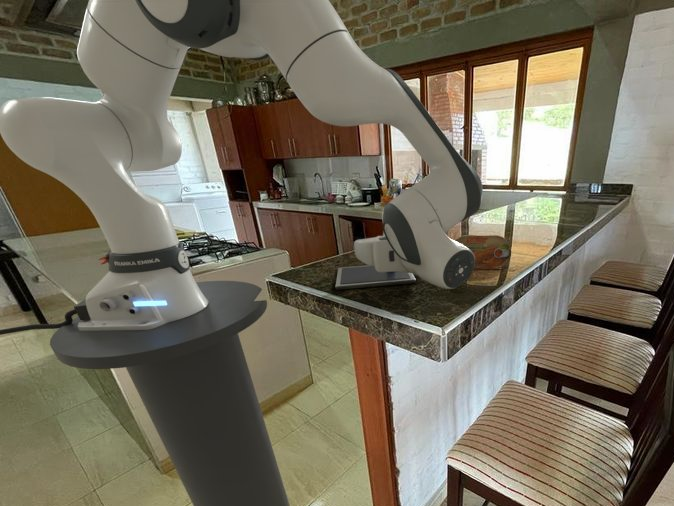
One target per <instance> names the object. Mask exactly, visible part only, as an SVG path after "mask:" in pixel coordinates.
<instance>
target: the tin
mask: <svg viewBox="0 0 674 506" xmlns="http://www.w3.org/2000/svg"><path fill="white" fill-rule="evenodd" d="M454 241H456V242H458V243H460V244H462V245H464V246H465V247H467V248H468V249H469V250H471V251H472V253H473V254H474V257H475V266H474V270H499V269H502V268H503V267H505V266H507V264H508V263H509V262H510V260H511V257H512V247H511V245H510V242H509V240H507V239H506V238H505V237H504V236H501V235H497V234H464V235H461V236H459V237H457V238H456V239H455V240H454Z"/></svg>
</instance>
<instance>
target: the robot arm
mask: <svg viewBox="0 0 674 506" xmlns="http://www.w3.org/2000/svg"><path fill="white" fill-rule="evenodd" d="M189 48H191V49H196V50H197V49H199V50H201V51H204V52H206V53H209V54H213V55H217V56H220V57H223V58H224V57H225V58H239V59H247V60H251V61H263V60H267V59H270V58H271V60H272V61H273V63H274V64H275V65H276V67H277V69H278V70H279V71H280V73H281V75H282V76H283V79H285V81H286V83H288V85H289V87H290V89H291V90H292V91H293V93H294V95H295V96H296V97H297V98H298V100H299V101H300V103H301V104H302V105H303V106H304V108H305V109H306V111H308V112H309V113H310V115H311V116H313V117H314V118H316V119H317V120H319V121H321V122H323V123H325V124H327V125H332V126H336V127H355V126H362V125H371V124H372V125H373V124H379V125H380V124H381V125H382V124H383V125H388V126H391V127H394V128H395V129H397V130H398V131H399V132H401V134H402V135H403V136H404V137H405V138H406V139H407V141H408V142H409V144H410V145H411V146H412V147H413V148H414V150H415V151H416V152H417V154H418V155H419V156H420V158H421V159H422V160H423V161H424V162H425V164H426V165H427V166H428V168H429V174H427V175H426V176H425V177H422V179H420V180H419V181H417V182H415V184H413V185H411V186H410V187H408V188H407V189H405V190H404V191H402V192H400V194H398V195H397V196H396V197H394V198H392V199H391V200H390V201H389V202H387V203H386V204H384V205H385V206H384V208H383V211H382V212H383V222H382V233H383V232H384V234H385V236H384V235H383V234H382V235H377V236H375V237H367V238H362V239H361V238H360V239H356V240H355V241H354V242H353V250H354V255H355V257H356V259H357V260H358V261H360V262H361V263H363V264H365V265H366V266H368V265H369V266H375V270H376V271H378V272H405V273H412V274H413V276H414V275H415V276H418V277H419V278H420V279H422V280H423V281H425V282H426V283H429V284H431V285H433V286H436V287H438V288H442V289H445V290H453V289H457V288H459V287H461V286H462V285H463V284H464V283H466V282H467V281H468V280H469V278H470V277H471V276H472V274H473V272H474V270H475V269H474V266H475V257H474V254H473V253H472V251H471V250H469V249H468V248H467V247H465V246H464V245H462V244H460V243H458V242H456V241H455V240H454V239H451V237H450V236H448V235H447V234H446V233H448V232H449V231H450V230H451V229H453V228H454V227H455V226H457V225H458V224H460V223H462V222H464V221H465V220H467V219H469V218H470V217H472V216H473V215H475V214H477V212H479V210H480V208H481V203H482V201H483V191H484V190H483V189H484V188H483V181H482V180H481V179H482V178H481V177H480V175H479V173H478V172H477V171H476V169H475V168H474V167H473V166H472V165H471V163H469V162H468V161H467V160H466V159H465V158H464V157H463V156H462V155H461V154H460V153H459V152H458V150H457V149H456V148H455V146H454V145H453V144H452V142H451V141H450V140H449V138H448V137H447V135H446V134H445V133H444V132H443V130H442V129H441V127H439V125H438V124H437V122H436V121H435V120H434V118H433V116H432V115H431V114H430V113H429V111H428V110H427V108H426V107H425V105H424V104H423V103H422V102H421V100H420V99H419V98H418V96H417V95H416V94H415V92H413V91H414V90H413V89H411V87H410V86H409V85H408V83H407V82H406V81H405V80H404V79H403V77H401V76H400V74H398V73H397V72H396V71H395V70H394V69H390V68H385V67H382V66H380V65H379V64H377V63H376V62H375V61H374V60H372V59H371V58H370V57H369V56H368V55H367V54H366V53H365V52H363V50H362V49H361V48H360V47H359V46H358V44H357V43H356V42H355V40H354V39H353V37H352V35H351V33H350V32H349V30H348V28H347V27H346V25H345V24H344V21H343V20H342V18H341V17H340V15H339V14H338V12H337V11H336V9H335V7H334V6H333V4H332V3H331V2H330V0H88V3H87V5H86V9H85V14H84V18H83V22H82V27H81V32H80V36H79V40H78V44H77V49H76V55H77V60H78V63H79V65H80V67H81V69H82V71H83V73H84V75H86V77H87V78H88V79H89V81H90V82H91V83H92V84H93V85H94V86H95V87H96V88H97V89H99V90H100V91H101V92H102V93H103V96H102V98H100V99H99V100H98V101H85V100H77V99H76V100H75V99H67V98H61V97H60V98H59V97H51V96H39V97H25V98H16V99H9V100H6V101H4V103H3V104H2V105H1V107H0V136H1V138H2V140H3V142H4V143H5V145H6V146H7V147H8V148H9V150H10V151H11V152H12V153H13V154H14V155H15V156H16V157H18V158H19V159H20V160H21V161H22V162H24V163H25V164H26V165H28V166H30V167H31V168H33V169H35V170H38V171H39V172H41V173H42V172H43V173H45V174H47V175H48V176H51V177H52V178H54V179H55V180H57V181H59V182H60V183H61V184H64V185H65V186H66V187H67V188H68V189H70V190H71V191H72V192H73V193H75V195H77V197H78V198H79V199H81V201H82V202H83V203H84V204H85V206H87V208H88V209H89V210H90V213H92V215H93V216H94V218H95V220H96V222H97V224H98V226H99V227H100V231H101V232H102V234H103V236H104V238H105V240H106V242H107V244H108V247H109V249H110V251H109V252H108V253H107V254H105V256H103V257H100V258H98V259H97V261H101V262H100V263H99V264H100V265H104V264H107V263H108V272H107V273H106V274H105V275H104V276H103V277H102V278H101V279H100V280H99V281H98V282H97V283H96V284H95V286H94V287H92V288H91V289H90V290H89V291H88V293H87V294H86V296H85V298H84V299H83V300H82V301H79V303H77V304H76V305H74V306H73V309H71V310H69V311H67V312H65V314H64V319H65V320H64V321H62V322H59V323H36V324H35V323H34V324H27V325H20V326H15V327H14V326H13V327H8V328H3V329H0V336H2V335H8V334H13V333H21V332H25V331H33V330H58V329H59V328H61V327H62V326H64V325H68V324H71V323H72V322H73V319H74V318H73V316H75V315H77V317H78V316H79V318H80V320H81V321H80V322H79V324H78V328H79V331H110V330H150V329H153V328H156V327H159V326H161V325H164V324H166V323H169V322H172V321H175V320H179V319H182V318H185V317H188V316H190V315H193V314H195V313H197V312H199V311H201V310H202V309H204V308H205V307H206V306H207V305H208V300H207V299H206V298H205V296H204V295H203V293H202V292H201V290H200V289H199V287H198V285H197V283H196V282H197V281H196V279H195V278H194V276H193V274H192V271H191V269H190V268H191V266H190V262H189V258H188V255H187V253H186V250H185V247H184V244H183V242H181V241H180V240H179V237H178V235H177V232H176V229H175V226H174V222H173V220H172V217H171V214H170V211H169V209H168V207H167V206H166V204H165V203H164V202H163V201H162V200H161V199H159V198H157V197H154V196H152V195H150V194H147V193H144V192H143V190H142V191H141V189H140V188H138V187H137V185H136V184H134V182H133V181H132V180H131V178H130V176H129V175H128V173H134V172H135V173H136V172H153V171H157V170H158V171H159V170H161V169H165V168H168V167H171V166H174V165H176V164H177V163H178V162H179V161H180V159H181V157H182V154H183V153H182V151H183V146H182V141H181V138H180V135H179V133H178V131H177V129H176V127H174V125H173V124H172V123H171V122H170V121H169V118H168V105H169V100H170V98H171V94H172V92H173V88H174V86H175V84H176V80H177V78H178V75H179V73H180V70H181V69H182V66H183V62H184V60H185V57H186V55H187V52H188V50H189Z"/></svg>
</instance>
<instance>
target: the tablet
mask: <svg viewBox="0 0 674 506" xmlns="http://www.w3.org/2000/svg"><path fill="white" fill-rule="evenodd" d="M416 283H417V282H416V278H415V276H414V274H412V273H405V272H392V273H388V272H378V271H376V270H375V266H369V265H358V266H355V265H354V266H342V267H338V268H337V275H336V281H335V286H334V287H335V290H336V291H339V290H351V289H352V290H353V289H363V288H364V289H365V288H374V287H385V286H386V287H387V286H398V285H408V284H416Z"/></svg>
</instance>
